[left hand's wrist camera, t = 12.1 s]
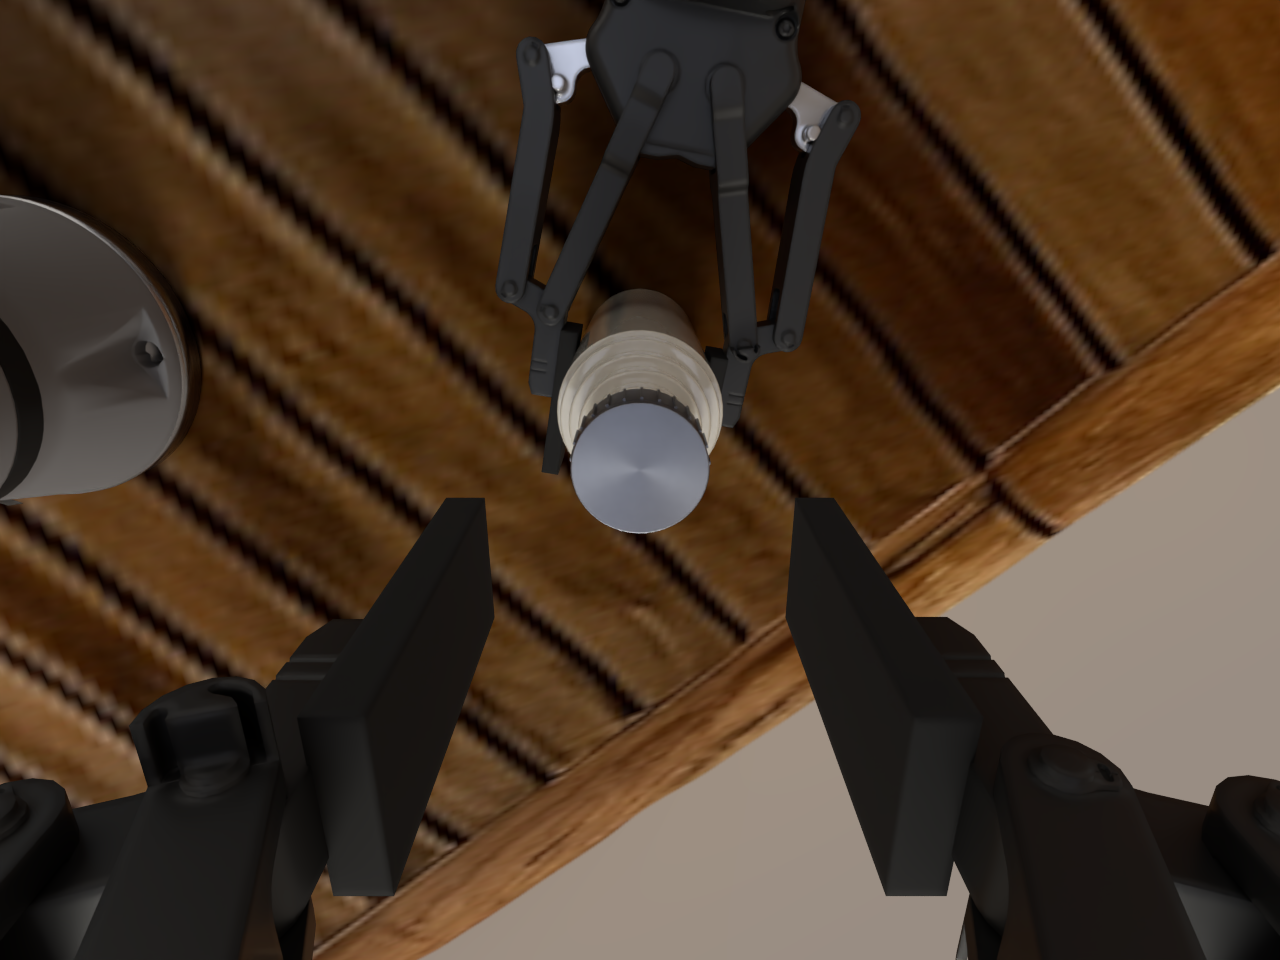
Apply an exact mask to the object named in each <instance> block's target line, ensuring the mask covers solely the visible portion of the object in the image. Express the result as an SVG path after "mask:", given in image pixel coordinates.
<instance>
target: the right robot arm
mask: <svg viewBox="0 0 1280 960" xmlns="http://www.w3.org/2000/svg"><path fill="white" fill-rule="evenodd" d="M805 1H806V0H605V1H604V4H603V7H602V10H601V12H600V14H599V16H598V17H597V19H596V20H595V22H594V23H593V25H592V26H591V28H590V30H589V32H588V34H587V38H585V39H578V40H571V41H564V42H556V43H549V44H544V43H543V42H542V41H541V40H539V39H538V38H536V37H527V38H525V39H523V40H522V41H521V42H520V43H519V45H518V47H517V50H516V58H517V65H518V71H519V77H520V84H521V90H522V97H523V103H524V110H523V116H522V122H521V128H520V135H519V141H518V147H517V154H516V160H515V166H514V172H513V179H512V185H511V191H510V198H509V204H508V210H507V216H506V223H505V229H504V235H503V242H502V248H501V254H500V260H499V267H498V273H497V279H496V293H497V295H498V297H499V298H500V299H501V300H502V301H504V302H506V303H512V304H513V305H515V306H517V307H519V308H520V309H522V310H524V311H526V312H527V313H528V314H529V315H530V316H531V317H532V319H533V321H534V324H535V334H534V342H533V350H532V358H531V366H530V375H529V386H530V390H531V393H532V394H535V395H541V396H547V397H552V399H551V406H550V414H549V421H548V429H547V436H546V443H545V451H544V458H543V466H542V472H545V473H551V474H557V475H558V473H559V470H560V467H561V463H562V460H563V457H564V451H565V444H564V442H563V439H562V436H561V433H560V430H559V425H558V418H557V402H558V396H559V391H560V388H561V385H562V382H563V379H564V377H565V375H566V373H567V371H568V369H569V366H570V364H571V362H572V360H573V358H574V356H575V353H576V351H577V349H578V347H579V345H580V341H581V334H582V328H583V324H579V323H573V322H567V316H568V311H569V310H570V307H571V305H572V302H573V300H574V298H575V296H576V294H577V292H578V290H579V287H580V285H581V283H582V281H583V279H584V277H585V275H586V272H587V270H588V268H589V266H590V264H591V262H592V259H593V257H594V255H595V253H596V251H597V249H598V247H599V244H600V242H601V240H602V238H603V236H604V234H605V231H606V229H607V227H608V225H609V223H610V221H611V219H612V216H613V214H614V212H615V210H616V208H617V206H618V203H619V201H620V199H621V197H622V195H623V193H624V191H625V188H626V186H627V184H628V182H629V180H630V178H631V176H632V174H633V172H634V170H635V168H636V166H637V163H638V161H639V159H640V157H644V158H649V159H654V160H663V159H673V158H676V159H679V160H681V161H683V162H685V163H687V164H689V165H691V166H692V167H696V168H701V169H706V170H709V177H710V188H711V193H712V200H713V212H714V224H715V236H716V247H717V259H718V271H719V283H720V295H721V307H722V319H723V331H724V340H725V341H724V346H723V350H722V349H721V348H715V347H709V346H706V349H705V355H706V358H707V360H708V362H709V364H710V366H711V368H712V371H713V373H714V375H715V377H716V380H717V382H718V384H719V388H720V391H721V395H722V402H723V419H722V426H725V427H731V428H733V427H734V425H735V424H736V422H737V421H738V419H739V418H740V413H741V409H742V405H743V400H744V396H745V392H746V387H747V383H748V379H749V374H750V370H751V367H752V364H753V362H754V361H755V360H756V359H757V358H758V357H759V356H761V355H763V354H766V353H772V352H778V351H784V352H791V351H793V350H795V349H797V348H798V346H799V345H800V343H801V341H802V337H803V332H804V327H805V322H806V317H807V311H808V306H809V301H810V296H811V291H812V286H813V280H814V275H815V270H816V265H817V260H818V255H819V249H820V244H821V239H822V234H823V229H824V224H825V219H826V213H827V208H828V203H829V198H830V193H831V188H832V182H833V177H834V172H835V167H836V165H837V163H838V161H839V160H840V158H841V156H842V154H843V152H844V150H845V149H846V147H847V145H848V143H849V141H850V139H851V138H852V136H853V134H854V132H855V130H856V128H857V127H858V125H859V122H860V119H861V112H860V109H859V107H858V105H857V104H856V103H855V102H853V101H850V100H844V101H841V102H839V103H837V102H835V101H833V100H831V99H830V98H828V97H826V96H825V95H823V94H821V93H819V92H818V91H816V90H814V89H813V88H811V87H809V86H808V85H806V84H804V83H803V82H802V71H801V66H800V62H799V58H798V50H797V41H798V33H799V28H800V24H801V19H802V14H803V10H804V5H805ZM588 72H592V73H593V76H594V78H595V80H596V82H597V85H598V87H599V89H600V91H601V93H602V96H603V98H604V100H605V102H606V105H607V107H608V109H609V111H610V113H611V116H612V118H613V120H614V122H615V125H616V129H615V131H614V133H613V135H612V137H611V140H610V142H609V144H608V146H607V149H606V151H605V153H604V156H603V159H602V162H601V164H600V167H599V169H598V171H597V173H596V176H595V178H594V180H593V182H592V184H591V187H590V189H589V191H588V193H587V196H586V198H585V200H584V202H583V205H582V207H581V209H580V211H579V213H578V216H577V218H576V220H575V222H574V225H573V227H572V229H571V231H570V234H569V236H568V238H567V240H566V242H565V245H564V247H563V249H562V251H561V254H560V256H559V258H558V260H557V263H556V265H555V267H554V269H553V271H552V274H551V276H550V278H549V280H548V283H547V285H544V284H543V283H541V282H539V281H537V280H536V279H534V272H535V267H536V261H537V255H538V250H539V244H540V238H541V233H542V227H543V221H544V216H545V210H546V205H547V199H548V193H549V188H550V182H551V176H552V171H553V165H554V159H555V154H556V148H557V142H558V137H559V129H560V112H561V110H560V106H565V105H568V104H569V103H571V102H572V101H573V99H574V98H575V95H576V90H577V83H578V81H579V79H580V78H581V76H582V75H584V74H585V73H588ZM784 110H785V111H786V112H788V113H789V115H790V116H791V118H792V122H793V128H792V132H791V136H790V139H791V144H792V146H793V148H794V149H795V150H797V151H798V152H800V153H799V155H798V157H797V160H796V163H795V166H794V170H793V174H792V178H791V184H790V189H789V195H788V201H787V207H786V212H785V218H784V224H783V229H782V235H781V241H780V247H779V252H778V258H777V264H776V269H775V275H774V281H773V287H772V292H771V298H770V304H769V309H768V315H767V320H765V321H759V322H757V320H756V305H755V291H754V276H753V261H752V246H751V231H750V216H749V202H748V186H749V174H748V159H747V148H748V147H749V146H750V145H751V144H752V143H753V142H754V141H755V140H756V139H757V138H758V137H759V136H760V135H761V134H762V133H763V132H764V131H765V130H766V129H767V128H768V127H769V126H770V125H771V124H772V123H773V122H774V121H775V120H776V119H777V117H778V116H779V115H780V114H781V113H782V112H783V111H784Z"/></svg>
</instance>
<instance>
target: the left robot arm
mask: <svg viewBox="0 0 1280 960" xmlns="http://www.w3.org/2000/svg"><path fill="white" fill-rule="evenodd" d="M200 390H201V367H200V358H199V353H198V348H197V343H196V340H195V337H194V333H193V330H192V328H191V325H190V322H189V320H188V317H187V315H186V313H185V311H184V309H183V307H182V305H181V303H180V301H179V300H178V298H177V296H176V295H175V293H174V291H173V290H172V288H171V287H170V285H169V284H168V283H167V281H166V280H165V278H164V277H163V276H162V274H161V273H160V272H159V271H158V270H157V268H156V267H155V266H154V265H153V264H152V263H151V262H150V261H149V260H148V258H147V257H146V256H145V255H144V254H143V253H142V252H141V251H140V250H138V249H137V248H136V247H135V246H134V245H133V244H132V243H130V242H129V241H128V240H127V239H126V238H124V237H123V236H122V235H120V234H119V233H118V232H116V231H115V230H114V229H112V228H110V227H109V226H107V225H106V224H104V223H102V222H101V221H99V220H97V219H96V218H94V217H92V216H90V215H88V214H86V213H84V212H82V211H79V210H77V209H75V208H72V207H70V206H67V205H64V204H61V203H58V202H55V201H51V200H46V199H42V198H37V197H30V196H21V195H0V503H2V504H5V505H15V504H22V503H21V502H18V501H14V500H11V499H19V498H30V497H39V496H48V495H56V494H79V493H87V492H93V491H98V490H103V489H107V488H111V487H114V486H117V485H119V484H122V483H124V482H126V481H128V480H130V479H132V478H134V477H136V476H138V475H140V474H142V473H144V472H146V471H147V470H149V469H151V468H153V467H155V466H156V465H158V464H159V463H161V462H162V461H163V460H165V459H166V458H167V457H168V456H169V455H170V454H171V453H173V452H174V450H175V449H176V448H177V447H178V446H179V445H180V443H181V442H182V441H183V439H184V438H185V436H186V435H187V433H188V431H189V429H190V427H191V425H192V423H193V420H194V417H195V415H196V412H197V408H198V403H199V399H200ZM493 620H494V606H493V594H492V582H491V570H490V558H489V546H488V533H487V521H486V509H485V498H446V499H445V501H444V502H443V504H442V505H441V506H440V508H439V509H438V511H437V512H436V514H435V515H434V517H433V518H432V520H431V521H430V523H429V524H428V526H427V527H426V528H425V530H424V531H423V533H422V534H421V536H420V537H419V539H418V540H417V542H416V543H415V545H414V546H413V548H412V549H411V550H410V552H409V553H408V555H407V556H406V558H405V559H404V561H403V562H402V564H401V565H400V567H399V568H398V570H397V571H396V572H395V574H394V575H393V577H392V578H391V580H390V581H389V583H388V584H387V586H386V587H385V589H384V590H383V592H382V593H381V594H380V596H379V597H378V599H377V600H376V602H375V603H374V605H373V606H372V608H371V609H370V611H369V612H368V614H367V615H366V616H365V618H364V619H333V620H331V621H330V622H328V623H327V624H325V625H324V626H322V627H321V628H319V629H318V630H316V631H315V632H313V633H312V634H310V635H309V636H307V637H306V638H305V640H304V641H303V642H302V643H301V645H300V646H299V647H298V648H297V650H296V651H295V652H294V653H293V655H292V656H291V657H290V662H286V664H285V665H284V666H283V667H282V669H281V670H280V671H279V672H278V674H277V675H276V680H272V681H271V683H270V684H269V685H268V686H267V688H266V689H265V688H264V687H262V686H261V685H260V684H259V683H257V682H256V681H255V680H252V679H247V678H242V677H237V676H235V677H220V678H211V679H207V680H203V681H200V682H196V683H192V684H188V685H186V686H183V687H181V688H179V689H177V690H174V691H172V692H170V693H168V694H165V695H163V696H162V697H160V698H159V699H157V700H156V701H154V702H153V703H152V704H150V705H149V706H147V707H146V708H144V709H143V710H142V711H141V712H140V713H139V714H138V716H137V717H136V718H135V719H134V720H133V722H132V723H131V724H130V725H129V727H130V730H131V734H132V737H133V740H134V743H135V747H136V750H137V753H138V756H139V760H140V763H141V766H142V769H143V773H144V776H145V779H146V782H147V786H148V788H147V790H146V792H143V793H140V794H136V795H133V796H128V797H124V798H119V799H115V800H111V801H106V802H102V803H97V804H93V805H88V806H84V807H79V808H75V809H72V808H71V805H70V802H69V799H68V797H67V794H66V791H65V789H64V788H63V787H61V786H60V785H59V784H57V783H56V782H55V781H53V780H44V779H34V778H32V779H26V780H20V781H14V782H8V783H4V784H1V785H0V960H312V956H313V946H314V937H315V928H316V922H315V915H314V908H313V903H312V899H311V894H312V892H313V890H314V888H315V886H316V884H317V882H318V880H319V878H320V876H321V874H322V872H323V870H324V867H325V865H326V863H327V867H328V872H329V877H330V881H331V886H332V891H333V896H394V895H395V892H396V889H397V886H398V883H399V881H400V878H401V875H402V872H403V870H404V867H405V864H406V861H407V858H408V856H409V853H410V850H411V847H412V845H413V842H414V839H415V836H416V834H417V831H418V828H419V825H420V822H421V820H422V817H423V814H424V811H425V809H426V806H427V803H428V800H429V797H430V795H431V792H432V789H433V786H434V784H435V781H436V778H437V775H438V773H439V770H440V767H441V764H442V761H443V759H444V756H445V753H446V750H447V748H448V745H449V742H450V739H451V736H452V734H453V731H454V728H455V725H456V723H457V720H458V717H459V714H460V712H461V709H462V706H463V703H464V700H465V698H466V695H467V692H468V689H469V687H470V684H471V681H472V678H473V675H474V673H475V670H476V667H477V664H478V662H479V659H480V656H481V653H482V651H483V648H484V645H485V642H486V639H487V637H488V634H489V631H490V628H491V626H492V623H493ZM786 620H787V623H788V626H789V628H790V631H791V634H792V637H793V639H794V642H795V645H796V648H797V651H798V653H799V656H800V659H801V662H802V664H803V667H804V670H805V673H806V675H807V678H808V681H809V684H810V687H811V689H812V692H813V695H814V698H815V700H816V703H817V706H818V709H819V712H820V714H821V717H822V720H823V723H824V725H825V728H826V731H827V734H828V736H829V739H830V742H831V745H832V748H833V750H834V753H835V756H836V759H837V761H838V764H839V767H840V770H841V773H842V775H843V778H844V781H845V783H846V786H847V789H848V792H849V795H850V797H851V800H852V803H853V806H854V809H855V811H856V814H857V817H858V820H859V822H860V825H861V828H862V831H863V833H864V836H865V839H866V842H867V844H868V847H869V850H870V853H871V856H872V858H873V861H874V864H875V867H876V870H877V872H878V875H879V878H880V880H881V883H882V886H883V889H884V892H885V894H886V896H947V891H948V886H949V881H950V877H951V872H952V867H953V862H955V864H956V866H957V868H958V870H959V872H960V874H961V876H962V878H963V880H964V882H965V884H966V887H967V889H968V891H969V893H970V894H969V899H968V903H967V908H966V913H965V917H964V921H963V926H962V930H961V935H960V940H959V944H958V949H957V954H956V960H967V957H968V960H1280V781H1278V780H1274V779H1268V778H1262V777H1256V776H1250V775H1246V776H1236V777H1228V778H1226V779H1225V780H1224V781H1222V782H1221V783H1220V784H1218V785H1217V786H1216V788H1215V791H1214V794H1213V797H1212V799H1211V802H1210V805H1209V806H1206V805H1201V804H1197V803H1192V802H1188V801H1183V800H1179V799H1175V798H1170V797H1166V796H1161V795H1156V794H1152V793H1148V792H1144V791H1141V790H1137V789H1134V788H1133V787H1132V785H1131V784H1130V782H1129V781H1128V779H1127V778H1126V776H1125V775H1124V774H1123V772H1122V771H1121V769H1120V768H1118V767H1117V766H1116V765H1115V764H1113V763H1112V762H1111V761H1110V760H1108V759H1107V758H1106V757H1104V756H1103V755H1102V754H1101V753H1099V752H1097V751H1095V750H1093V749H1091V748H1089V747H1087V746H1085V745H1083V744H1081V743H1079V742H1077V741H1073V740H1070V739H1067V738H1063V737H1060V736H1056V735H1053V734H1052V732H1051V731H1050V730H1049V729H1048V727H1047V726H1046V725H1045V724H1044V722H1043V721H1042V720H1041V719H1040V717H1039V716H1038V715H1037V713H1036V712H1035V711H1034V710H1033V708H1032V707H1031V706H1030V705H1029V703H1028V702H1027V701H1026V700H1025V698H1024V697H1023V696H1022V695H1021V693H1020V692H1019V691H1018V690H1017V688H1016V687H1015V686H1014V685H1013V683H1012V682H1011V681H1010V679H1009V678H1005V675H1004V672H1003V671H1002V669H1001V668H1000V667H999V666H998V664H997V663H996V662H995V661H994V660H991V656H990V654H989V653H988V652H987V650H986V649H985V648H984V647H983V645H982V644H981V643H980V642H979V640H978V639H977V638H976V637H975V635H974V634H972V633H970V632H969V631H967V630H966V629H964V628H963V627H961V626H960V625H958V624H957V623H955V622H954V621H952V620H951V619H949V618H948V617H915V616H914V615H913V614H912V612H911V611H910V609H909V608H908V606H907V605H906V603H905V602H904V600H903V599H902V597H901V596H900V594H899V593H898V592H897V590H896V589H895V587H894V586H893V584H892V583H891V581H890V580H889V578H888V577H887V575H886V574H885V572H884V571H883V570H882V568H881V567H880V565H879V564H878V562H877V561H876V559H875V558H874V556H873V555H872V553H871V552H870V550H869V549H868V548H867V546H866V545H865V543H864V542H863V540H862V539H861V537H860V536H859V534H858V533H857V531H856V530H855V528H854V527H853V526H852V524H851V523H850V521H849V520H848V518H847V517H846V515H845V514H844V512H843V511H842V509H841V508H840V506H839V505H838V504H837V502H836V501H835V499H834V498H795V509H794V521H793V533H792V545H791V558H790V570H789V582H788V594H787V606H786Z"/></svg>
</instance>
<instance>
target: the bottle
mask: <svg viewBox="0 0 1280 960" xmlns="http://www.w3.org/2000/svg"><path fill="white" fill-rule="evenodd" d="M640 387H643V389H651V390H656V391H657V389H660V392H663V393H665V394H668V395H670V396H672V397H673V395H674V396H676V399H677V400H678V401H680V402H681V403H682V404H683V405H684V406H688V407H689V409H690V412H691V413H692V414H693V415H694V417H695V419H696V418H698V420H699V422H700V426H701V429H702V433H704V434H705V437H706V440H707V444H708V447H709V448H706V449H707V451H708V455H710V453H711V451H712V449H713V448H714V446H715V444H716V441H717V439H718V437H719V433H720V430H721V426H722V419H723V402H722V395H721V391H720V388H719V384H718V382H717V380H716V377H715V375H714V373H713V371H712V368H711V366H710V364H709V362H708V360H707V358H706V355H705V353H704V351H703V349H702V347H701V345H700V342H699V340H698V338H697V336H696V334H695V332H694V330H693V327H692V325H691V323H690V321H689V319H688V317H687V315H686V314H685V312H684V311H683V310H682V308H681V307H680V306H679V305H678V304H677V303H676V302H675V301H673V300H672V299H671V298H669V297H668V296H666V295H664V294H662V293H659V292H657V291H653V290H648V289H632V290H627V291H624V292H621V293H618V294H616V295H614V296H612V297H611V298H609V299H608V300H607V301H605V302H604V303H603V304H602V305H601V306H600V307H599V308H598V309H597V311H596V312H595V314H594V315H593V317H592V319H591V321H590V323H589V325H588V327H587V330H586V332H585V334H584V336H583V338H582V340H581V343H580V345H579V347H578V349H577V351H576V353H575V356H574V358H573V360H572V362H571V364H570V366H569V369H568V371H567V373H566V375H565V377H564V379H563V382H562V385H561V388H560V391H559V396H558V402H557V418H558V425H559V430H560V433H561V436H562V439H563V442H564V444H565V446H566V448H567V449H568V451H569V453H570V454H571V453H572V449H573V446H574V445H573V441H574V437H575V434H576V431H577V430H579V429H580V426H581V423H582V419H583V416H584V415H585V416H587V414H588V413H589V412H590V411H591V410H592V409H593V405H594V404H595V403H596V404H598V403H599V402H600V401H602V400H603V399H605V398H607V395H608V394H610V395H613V394H615V393H617V392H621V391H623V389H624V388H626V390H629V389H640Z"/></svg>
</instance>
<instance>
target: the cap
mask: <svg viewBox="0 0 1280 960" xmlns="http://www.w3.org/2000/svg"><path fill="white" fill-rule="evenodd" d="M573 445H574V446H573V449H572V453H571V456H570V461H571V478H572V483H573V486H574V489H575V492H576V494H577V496H578V498H579V500H580V501H581V503H582V504H583V506H584V507H585V508H586V509H587V510H588V512H589V513H590V514H591V515H593V516H594V517H595V518H596V519H597V520H599V521H601V522H602V523H604V524H605V525H607V526H610V527H612V528H614V529H617V530H620V531H624V532H629V533H650V532H656V531H660V530H663V529H666V528H668V527H671V526H673V525H675V524H676V523H678V522H680V521H681V520H682V519H684V518H685V517H686V516H688V515H689V514H690V513H691V512H692V511H693V510H694V508H695V507H696V506H697V505H698V503H699V502H700V500H701V498H702V497H703V494H704V492H705V490H706V487H707V483H708V479H709V464H710V458H709V455H708V451H707V449H706V448H709V447H708V444H707V440H706V437H705V434H704V433H702V429H701V426H700V422H699V420H698V418H696V419H695V417H694V415H693V414H692V413H691V412H690V409H689V407H688V406H684V405H683V404H682V403H681V402H680V401H678V400H677V399H676V396H674V395H673V397H672V396H670V395H668V394H665V393H663V392H660V389H657V391H656V390H651V389H643V387H640V389H629V390H626V388H624V389H623V391H621V392H617V393H615V394H613V395H610V394H608V395H607V398H605V399H603V400H602V401H600V402H599V403H598V404H596V403H595V404H594V405H593V409H592V410H591V411H590V412H589V413H588V414H587V416H585V415H584V416H583V419H582V423H581V426H580V429H579V430H577V431H576V434H575V437H574V441H573Z"/></svg>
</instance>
